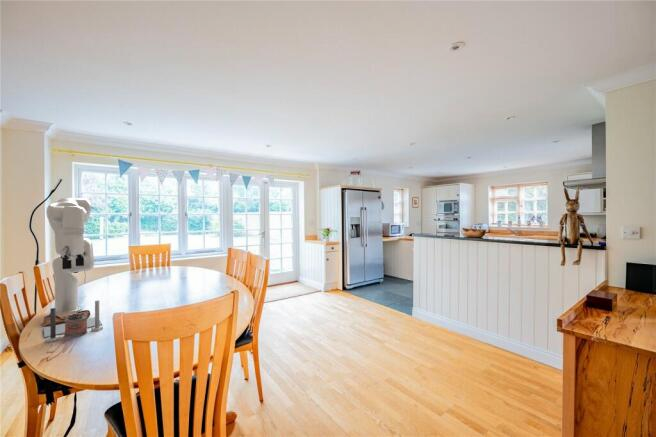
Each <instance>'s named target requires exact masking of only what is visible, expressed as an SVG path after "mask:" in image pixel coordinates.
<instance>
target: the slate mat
mask: <svg viewBox="0 0 656 437" xmlns="http://www.w3.org/2000/svg"><path fill="white" fill-rule="evenodd" d="M99 326H103V323H102V322H101V320H100V319H99ZM93 327H95V316H94V317H90V318H88V319H87V329H91V328H93ZM60 334H61V335H65V323H64V324H58V325H56V336H61V335H60ZM43 335H44V336H43V337H44V339H47V338H48V337H50V326H47V327H43Z"/></svg>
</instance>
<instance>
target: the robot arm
mask: <svg viewBox="0 0 656 437" xmlns="http://www.w3.org/2000/svg"><path fill="white" fill-rule="evenodd" d="M91 212H92V203H91V202H90V200H89V199H88V198H80V197H79V198H77V197H64V198H59V199H58V200H57V201H56V202H54V203H50V204H49V205H47V207H46V218H47V220H48V223H49V225H50V227H51V229H52V231H53V232H54V246H55V252H56V254H57V255H58V256H59V255H60V256H59V257H56V258H54V259H53V260H52V264H51V265H52V271H53V276H54V278H53V279H54V308H56V315H58V314H64V313H72V312H79V311H82V306H81V305H79V303H78V302H79V286H78V285H79V281H78V278H77V277H76V276H75V275H74V274H72V273H77V272H78V273H79V272H87V271H91V270H93V269H94V266H95V257H94V249H93V248H94V247H93V246H94V245H93V242H92V240H91V239H90V238H87V237H84V234H85V223H88V221H89V219H90V216H91Z"/></svg>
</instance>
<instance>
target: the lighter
mask: <svg viewBox="0 0 656 437" xmlns="http://www.w3.org/2000/svg"><path fill="white" fill-rule="evenodd" d="M84 315H85V312H83V313H74V314H69V315H68V318H69V319H65V320H64V322H65V334H63V335H64V337H65V338H69V337H68V336H71V337H78V336H82V335H83V336H84V335H87V334H88V328H87V317H82V316H84ZM79 316H80V317H79ZM71 317H72V318H71ZM86 333H87V334H86Z"/></svg>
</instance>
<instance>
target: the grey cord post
mask: <svg viewBox="0 0 656 437" xmlns="http://www.w3.org/2000/svg"><path fill="white" fill-rule="evenodd" d="M94 317H95V327H92V328H90V332H92V331H95V332H99V330H100V331H102V330H103V329H104V325H100V326H99V320H100V300H95V301H94Z"/></svg>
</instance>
